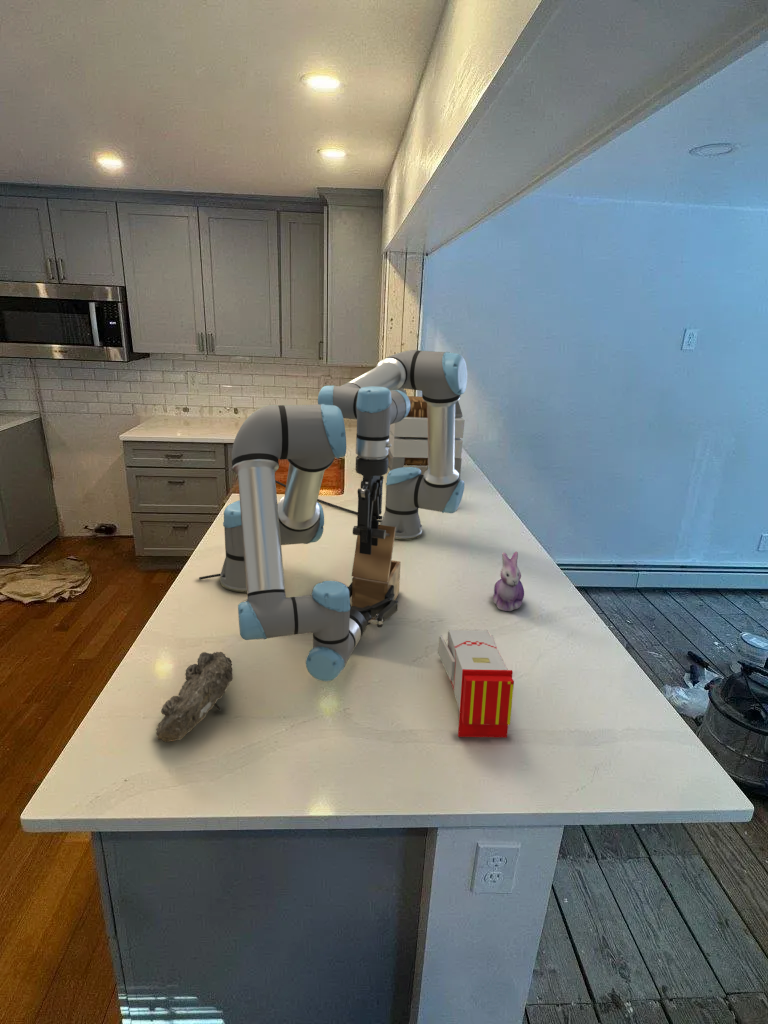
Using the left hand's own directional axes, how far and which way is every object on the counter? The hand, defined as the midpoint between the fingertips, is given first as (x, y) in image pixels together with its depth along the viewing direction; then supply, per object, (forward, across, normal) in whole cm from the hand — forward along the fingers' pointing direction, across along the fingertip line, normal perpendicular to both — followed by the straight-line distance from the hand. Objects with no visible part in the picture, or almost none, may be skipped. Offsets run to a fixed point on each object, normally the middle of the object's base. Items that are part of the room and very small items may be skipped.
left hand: (373, 586), depth 148 cm
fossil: (-49, -20, -6) cm, 53 cm away
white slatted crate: (+133, -15, -6) cm, 134 cm away
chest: (+3, 0, -6) cm, 7 cm away
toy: (-27, +29, -6) cm, 40 cm away
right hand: (-6, 0, +13) cm, 15 cm away
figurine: (+14, +34, -6) cm, 38 cm away
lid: (-1, 0, +10) cm, 10 cm away
